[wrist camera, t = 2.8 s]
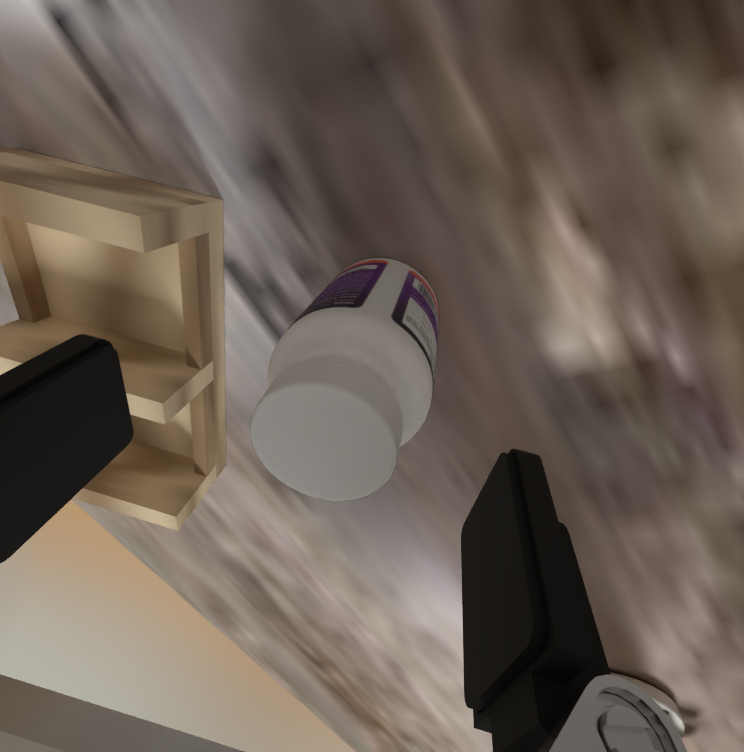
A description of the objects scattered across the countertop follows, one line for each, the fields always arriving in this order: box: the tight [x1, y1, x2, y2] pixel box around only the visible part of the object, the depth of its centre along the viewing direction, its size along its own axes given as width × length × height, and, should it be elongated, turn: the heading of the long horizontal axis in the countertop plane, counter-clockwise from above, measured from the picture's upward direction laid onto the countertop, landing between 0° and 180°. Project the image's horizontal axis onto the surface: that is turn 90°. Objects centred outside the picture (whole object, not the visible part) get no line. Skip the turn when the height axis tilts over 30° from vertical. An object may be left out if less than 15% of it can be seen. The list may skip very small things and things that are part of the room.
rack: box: [0, 148, 226, 531], centre depth 19 cm, size 10×17×5 cm, turn 169°
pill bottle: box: [250, 258, 439, 501], centre depth 14 cm, size 5×5×10 cm
